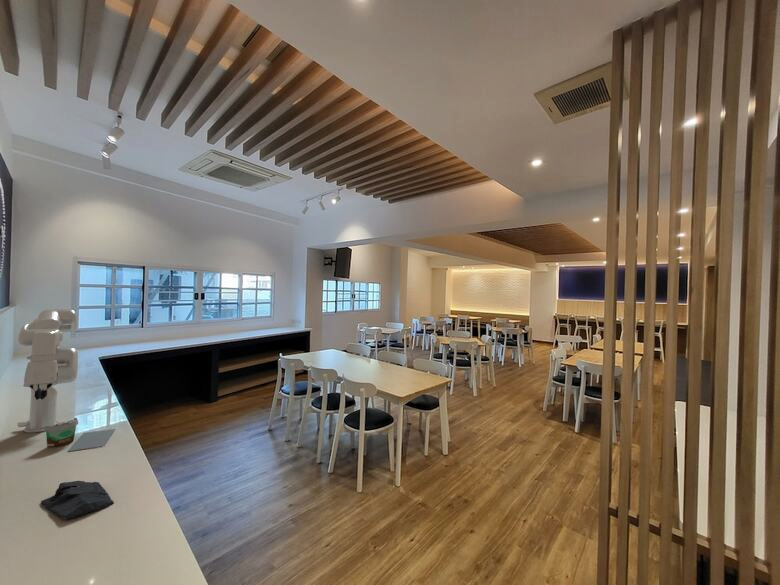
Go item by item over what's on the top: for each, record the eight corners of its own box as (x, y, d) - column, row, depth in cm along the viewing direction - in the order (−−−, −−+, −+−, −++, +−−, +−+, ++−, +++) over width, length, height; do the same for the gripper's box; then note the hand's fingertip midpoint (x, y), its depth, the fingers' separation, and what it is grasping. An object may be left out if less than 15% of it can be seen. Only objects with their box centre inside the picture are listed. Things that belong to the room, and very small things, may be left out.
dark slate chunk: (53, 530, 98) (54, 514, 98) (39, 502, 111) (40, 488, 111) (117, 505, 110) (118, 491, 111) (98, 482, 123) (98, 469, 123)
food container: (53, 450, 145) (55, 428, 146) (43, 448, 147) (44, 426, 147) (84, 439, 157) (85, 418, 158) (74, 437, 159) (75, 417, 159)
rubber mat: (67, 452, 144) (67, 451, 144) (83, 433, 163) (83, 432, 164) (104, 446, 151) (104, 445, 151) (115, 429, 170) (115, 428, 170)
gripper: (15, 360, 142) (12, 403, 141) (63, 358, 149) (60, 399, 149) (23, 357, 148) (20, 398, 148) (68, 356, 156) (66, 394, 155)
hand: (40, 398), depth 148 cm, fingers closed
